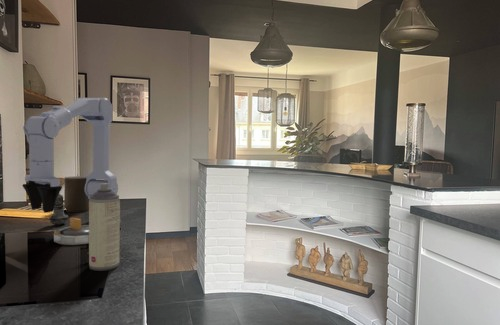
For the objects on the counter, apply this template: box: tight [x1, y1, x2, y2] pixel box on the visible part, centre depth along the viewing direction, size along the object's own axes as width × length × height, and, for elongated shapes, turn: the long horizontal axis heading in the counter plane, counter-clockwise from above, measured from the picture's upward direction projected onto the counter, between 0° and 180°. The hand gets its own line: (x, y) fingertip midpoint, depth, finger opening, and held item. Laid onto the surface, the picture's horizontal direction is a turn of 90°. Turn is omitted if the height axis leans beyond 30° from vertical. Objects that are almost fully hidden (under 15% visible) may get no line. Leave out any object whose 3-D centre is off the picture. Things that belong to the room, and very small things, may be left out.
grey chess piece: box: [48, 193, 69, 226], centre depth 120 cm, size 6×6×12 cm
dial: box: [64, 216, 89, 236], centre depth 106 cm, size 10×9×5 cm
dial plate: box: [53, 224, 89, 246], centre depth 106 cm, size 15×15×3 cm
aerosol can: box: [88, 183, 121, 272], centre depth 86 cm, size 7×7×20 cm
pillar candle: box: [63, 173, 90, 213], centre depth 147 cm, size 10×10×15 cm
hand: (42, 210), depth 98 cm, fingers open, 6 cm apart
